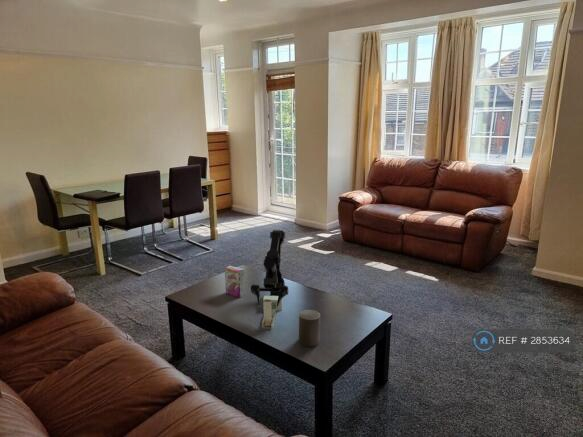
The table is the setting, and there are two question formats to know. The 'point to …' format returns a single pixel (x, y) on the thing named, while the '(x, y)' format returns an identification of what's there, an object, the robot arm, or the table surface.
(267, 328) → the u-shaped channel
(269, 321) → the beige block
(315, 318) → the pillar candle
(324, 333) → the table surface
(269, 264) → the robot arm
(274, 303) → the socket block
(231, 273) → the candy bar box
